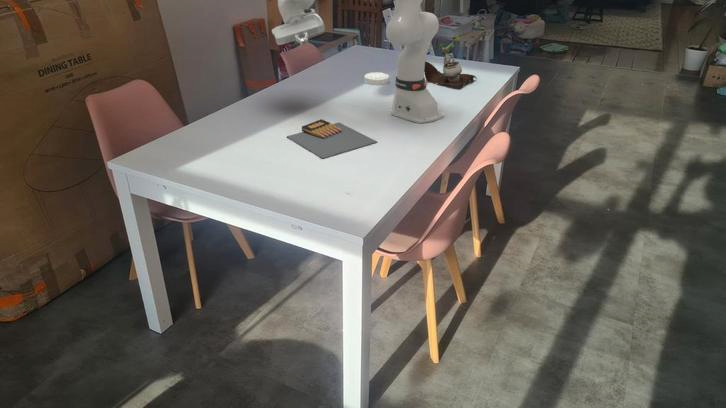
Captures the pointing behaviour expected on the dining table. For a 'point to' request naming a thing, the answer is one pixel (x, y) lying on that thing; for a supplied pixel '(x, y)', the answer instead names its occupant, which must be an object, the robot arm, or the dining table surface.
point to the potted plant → (447, 70)
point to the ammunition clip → (320, 128)
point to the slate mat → (332, 141)
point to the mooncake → (376, 78)
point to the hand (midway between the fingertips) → (304, 42)
